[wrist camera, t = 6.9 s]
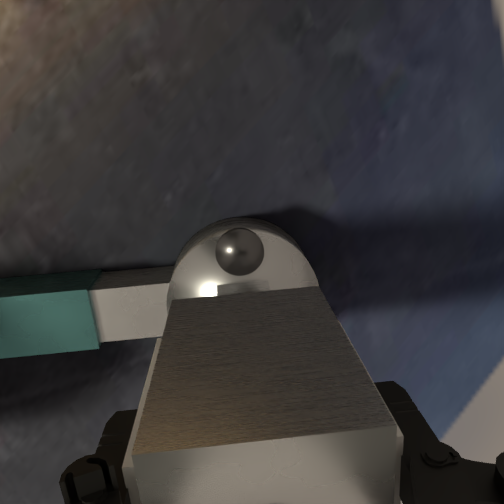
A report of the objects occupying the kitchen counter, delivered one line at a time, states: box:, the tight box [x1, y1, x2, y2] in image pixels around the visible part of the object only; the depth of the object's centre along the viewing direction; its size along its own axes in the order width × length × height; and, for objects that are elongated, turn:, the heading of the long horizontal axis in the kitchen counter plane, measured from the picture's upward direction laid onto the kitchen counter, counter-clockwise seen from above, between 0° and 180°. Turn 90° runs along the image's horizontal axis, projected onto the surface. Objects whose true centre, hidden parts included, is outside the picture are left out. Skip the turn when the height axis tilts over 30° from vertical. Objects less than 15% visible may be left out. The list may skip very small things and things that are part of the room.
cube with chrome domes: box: [131, 286, 397, 504], centre depth 14 cm, size 6×6×8 cm
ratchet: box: [0, 217, 319, 359], centre depth 21 cm, size 21×8×7 cm, turn 94°
